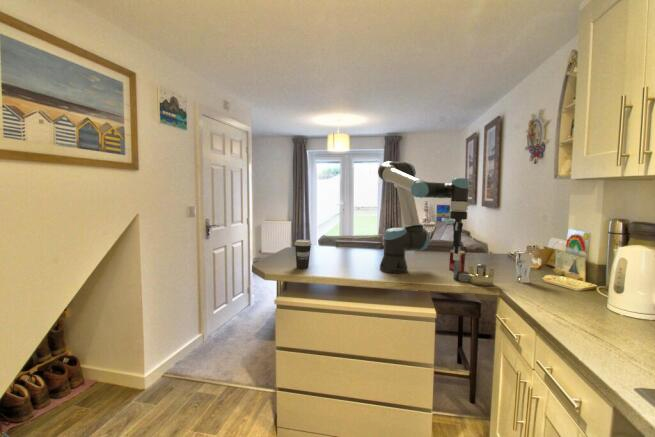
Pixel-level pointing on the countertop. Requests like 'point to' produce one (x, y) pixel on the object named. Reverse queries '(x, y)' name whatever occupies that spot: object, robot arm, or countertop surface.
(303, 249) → the coffee cup
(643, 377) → the countertop surface
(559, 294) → the countertop surface
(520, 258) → the beer glass
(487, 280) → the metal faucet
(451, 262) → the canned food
